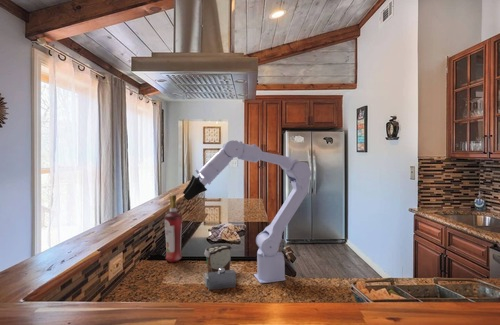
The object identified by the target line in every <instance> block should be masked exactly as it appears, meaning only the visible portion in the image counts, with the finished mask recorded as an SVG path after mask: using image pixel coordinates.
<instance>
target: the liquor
mask: <svg viewBox="0 0 500 325" xmlns="http://www.w3.org/2000/svg"><path fill="white" fill-rule="evenodd" d="M177 210H178V209H177V194H170V195H169V213H167V214H166V215H164V232H165V233H164V234H165V235H164V236H165V248H166V250H165V252H166V256H165V260H166V261H168V262H169V263H176V262H179V261H180V260H181V259H182V258H183V256H182V232H183V231H182V230H183V229H182V228H183V225H182V224H183V215H181V214H180V213H178V212H177Z"/></svg>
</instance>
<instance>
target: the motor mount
mask: <svg viewBox="0 0 500 325" xmlns="http://www.w3.org/2000/svg"><path fill="white" fill-rule="evenodd" d="M236 275H237V274H236V270H235V269H230V270H225V268H218V271H217V272H208V271H207V272H204V277H203V278H204V284H205V288H206V287H207V289H209V290H208V291H215V290H214V289H216V290H223V289H229V288H236V286H237V284H236V278H237V277H236Z"/></svg>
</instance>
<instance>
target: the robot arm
mask: <svg viewBox="0 0 500 325" xmlns="http://www.w3.org/2000/svg"><path fill="white" fill-rule="evenodd" d="M234 158H237V159H238V160H241V161H246V162H250V163H255V164H256V163H257V162H259V161H263V162H266V163H270V164H275V165H278V166H280V168H281V170H284V172H285V175H286V176H287V178H288V179H289V180H290V183H291V187H292V190H291V191H290V192H289V195H287V197H286V198H285V201H284V202H283V204H282V205H281V206H280V209H279V210H278V211H277V213H276V215H275V216H274V218H273V219H272V221H271V222H270V224H269V225H267V226H265V228H264V229H263V231H261V232H260V233H258V234H257V236H256V237H255V244H256V246H257V247H258V250H257V252H256V256H257V257H256V261H257V262H256V263H257V265H256V267H257V269H256V270H257V272H256V273H254V274H253V276H254V277H255V279H256V280H257V281H258V283H259V284H267V283H274V282H281V281H283V282H284V281H286V280H287V279H286V277H285V276H286V272H285V271H286V269H285V267H286V266H285V265H286V264H285V263H286V262H285V257H284V254H283V253H282V252H281V251H279V248H280V243H281V242H282V240H283V239H282V238H283V232H284V231H285V229H286V228H287V227H288V225H289V223H290V221H291V219H292V218H293V217H294V215H295V213H296V212H297V210H298V209H299V207H300V206H301V204H302V203H303V201H304V199H305V198H306V196H307V194H308V193H309V188H310V179H311V176H312V172H311V168H310V166H309V164H308V163H307V162H305V161H300V160H298V159H296V158H293V157H290V156H285V155H280V154H276V153H271V152H266V151H263V150H262V149H261V147H260V146H257V144H256V143H252V144H247V143H243V141H241V140H240V141H238V140H229V141H227V142H225V143H224V144H223V145H222V148H220V149H219V150H218V152H215V154H213V156H212V157H210V159H209V160H208V161H207V162H206V163H205V164H204V165H203V166H202V167H201V168H200V169H199V170H198V169H197V168H195V169H194V172H196V174H197V176H195V175H194V174H192V175H191V179H190V181H189V182H188V184H187V185H186V187H185V188H184V190H183V192H182V194H183V198H185V200H187V201H190V200H192V199H193V198H195V197H196V196H198V195H199V194H201V193H203V192H206V191H208V189H207V188H206V187H205V186H206V185H207V184H208V185H211V184H212V182H213V181H214V180H216V178H217V177H218V176H219V175H220V173H222V172H223V170H225V169H226V167H227V166H228V165H229V164H230V163H231V161H232V160H233V159H234Z"/></svg>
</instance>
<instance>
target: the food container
mask: <svg viewBox="0 0 500 325" xmlns="http://www.w3.org/2000/svg"><path fill="white" fill-rule="evenodd" d="M232 250H233V246H232V244H231V243H214V244H210V245H208V246H206V247H205V250H204V256H205V257H206V266H207V268H206V269H207V273H208V272H217V271H218V268H225V270H231V260H232V258H231V256H232Z"/></svg>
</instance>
